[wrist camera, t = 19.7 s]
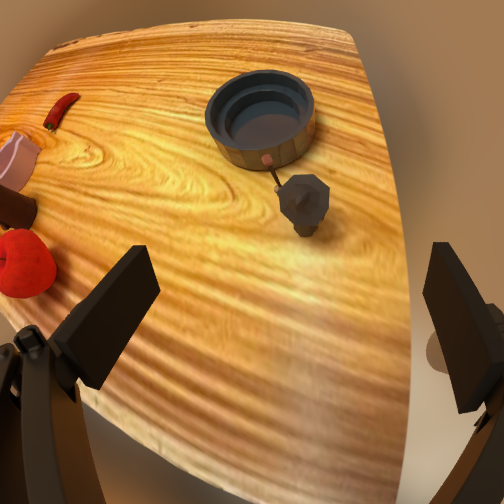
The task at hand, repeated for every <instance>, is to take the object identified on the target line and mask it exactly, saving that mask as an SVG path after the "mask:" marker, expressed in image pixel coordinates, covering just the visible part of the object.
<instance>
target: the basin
mask: <svg viewBox="0 0 504 504" xmlns="http://www.w3.org/2000/svg"><path fill="white" fill-rule="evenodd" d="M205 123H206V127H207V129H208V130H209V132H210V134H211V136H212V137H213V139H214V141H215V143H216V144H217V146H218V148H219V150H220V151H221V153H222V155H223V156H224V157H225V158H226V159H228V160H229V161H230V162H231V163H233V164H234V165H237V166H240V167H243V168H246V169H250V170H268V169H269V168H268V166H265V165H264V164H263V162H262V159H261V158H262V157H263V156H264V155H266V154H270V156H271V158H272V160H273V162H272V165H273V168H278V167H282V166H284V165H286V164H288V163H290V162H292V161H294V160H296V159H298V158H299V157H300V156H301V155H302V154H303V153H304V152H305V151H306V150H307V149H308V148H309V146H310V144H311V142H312V140H313V138H314V136H315V129H316V116H315V104H314V98H313V96H312V93H311V90H310V88H309V87H308V86H307V85H306V84H305V83H304V82H303V81H302V80H301V79H299V78H298V77H296V76H294V75H292V74H290V73H287V72H282V71H278V70H256V71H252V72H247V73H243V74H241V75H239V76H237V77H235V78H233V79H231V80H229V81H227V82H226V83H225V84H224V85H222V86H221V87H220V88H219V89H217V90H216V92H215V93H214V94H213V96H212V97H211V98H210V100H209V102H208V105H207V108H206V111H205Z"/></svg>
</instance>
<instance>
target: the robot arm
mask: <svg viewBox="0 0 504 504" xmlns="http://www.w3.org/2000/svg"><path fill="white" fill-rule="evenodd" d="M160 291H161V290H160V287H159V285H158V282H157V279H156V276H155V272H154V269H153V266H152V263H151V260H150V257H149V254H148V250H147V247H146V245H133V246H132V247H131V248H130V249H129V250H128V252H127V253H126V254H125V255H124V256H123V257H122V258H121V259H120V260H119V261H118V262H117V263H116V265H115V266H114V267H113V268H112V269H111V270H110V271H109V272H108V273H107V275H106V276H105V277H104V278H103V279H102V280H101V281H100V282H99V284H98V285H97V286H96V287H95V288H94V289H93V290H92V292H91V293H90V294H89V295H88V296H87V297H86V298H85V299H84V300H82V301H81V302H80V303H78V304H77V305H76V306H75V307H74V308H73V310H72V311H71V312H70V314H68V316H67V317H66V318H65V320H63V322H62V323H61V324H60V325H59V327H58V328H57V329H56V330H55V332H54V333H53V334H52V335H51V337H50V338H49V339H48V340H46V339H45V337H44V336H43V334H42V333H41V331H40V329H39V328H38V327H37V326H36V325H29V326H26V327H24V328H22V329H21V330H20V331H19V332H18V333H17V334H16V336H15V337H14V340H13V341H14V343H15V344H16V346H17V347H18V349H19V350H20V352H18V351H17V350H16V349H15V347H14V345H13V344H11V343H7V344H4V345H1V346H0V504H106V502H105V498H104V496H103V493H102V489H101V486H100V482H99V479H98V476H97V472H96V469H95V465H94V461H93V457H92V453H91V449H90V444H89V440H88V435H87V430H86V425H85V420H84V415H83V409H82V403H81V397H80V390H79V387H78V384H77V383H76V381H77V379H78V378H80V379H81V380H82V382H83V383H84V384H85V386H87V387H90V388H93V389H97V390H100V388H101V387H102V385H103V383H104V382H105V380H106V378H107V376H108V375H109V373H110V371H111V370H112V368H113V366H114V365H115V363H116V361H117V360H118V358H119V356H120V355H121V353H122V351H123V350H124V348H125V346H126V345H127V343H128V342H129V340H130V338H131V337H132V335H133V334H134V332H135V330H136V329H137V327H138V326H139V324H140V322H141V321H142V319H143V318H144V316H145V314H146V313H147V311H148V310H149V308H150V307H151V305H152V304H153V302H154V300H155V299H156V297H157V296H158V294H159V293H160ZM422 294H423V296H424V299H425V302H426V304H427V307H428V310H429V312H430V315H431V318H432V321H433V324H434V327H435V330H436V333H437V336H438V339H439V342H440V345H441V349H442V352H443V355H444V358H445V362H446V365H447V369H448V372H449V376H450V380H451V384H452V388H453V391H454V395H455V400H456V404H457V408H458V413H459V414H462V413H468V412H473V411H477V410H478V408H479V407H480V406H481V404H482V403H483V402H484V403H485V406H486V411H485V412H484V413H483V415H482V416H481V417H480V418H479V419H478V421H477V422H476V423H475V424H474V426H477V427H476V429H475V431H474V433H473V435H472V437H471V439H470V441H469V442H468V444H467V446H466V448H465V450H464V451H463V453H462V455H461V456H460V458H459V460H458V461H457V463H456V465H455V466H454V468H453V470H452V471H451V473H450V474H449V476H448V477H447V479H446V480H445V482H444V483H443V485H442V486H441V488H440V489H439V490H438V492H437V493H436V495H435V496H434V498H433V499H432V500H431V502H430V503H429V504H500V503H501V501H502V500H503V498H504V314H503V313H502V311H501V310H500V309H499V308H497V307H496V306H495V305H494V304H493V303H492V304H485V302H484V300H483V298H482V297H481V295H480V293H479V291H478V289H477V288H476V286H475V284H474V282H473V281H472V279H471V277H470V276H469V274H468V273H467V271H466V269H465V268H464V266H463V264H462V263H461V261H460V260H459V258H458V256H457V255H456V253H455V252H454V250H453V249H452V247H451V246H450V244H449V243H448V242H433V246H432V252H431V257H430V262H429V267H428V272H427V276H426V280H425V285H424V289H423V293H422ZM11 385H12V386H13V387H14V388H15V389H16V391H17V395H16V396H15V395H13V393H12V392H11V391H10V388H11Z"/></svg>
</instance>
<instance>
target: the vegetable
mask: <svg viewBox="0 0 504 504" xmlns="http://www.w3.org/2000/svg"><path fill="white" fill-rule="evenodd" d="M78 97H79V94H78V93H69V94H67V95H65V96H63V97H62V98H61V99H59V100H58V101H57V102H56V103H55V105H54V106H53V108H52V109H51V110H50V112H49V114H48V116H47V118H46V119H45V121H44V123H43V126H44V127H45V128H46V129H48V130H53V129H55V128H56V127H57V125H58V122H59V120H60V118H61V116H62V114H63V112H64V110H65V109H66V107H67V106H68V105H69V104H71V103H72V102H74V101H75V100H76V99H77V98H78Z"/></svg>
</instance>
